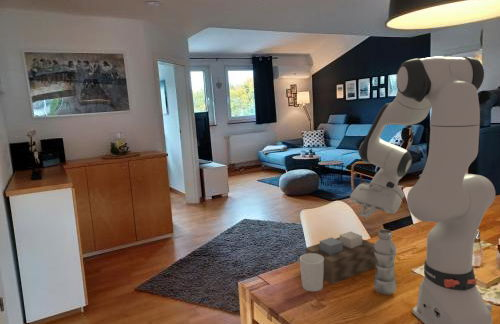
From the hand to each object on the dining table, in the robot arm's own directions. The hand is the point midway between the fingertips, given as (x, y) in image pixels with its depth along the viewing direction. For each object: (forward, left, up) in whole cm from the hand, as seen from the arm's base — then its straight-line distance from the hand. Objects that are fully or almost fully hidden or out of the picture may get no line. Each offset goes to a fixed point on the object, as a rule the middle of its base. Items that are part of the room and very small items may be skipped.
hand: (363, 216), depth 134 cm
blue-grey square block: (-8, +14, -10) cm, 19 cm away
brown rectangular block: (-6, +10, -17) cm, 21 cm away
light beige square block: (-3, +6, -10) cm, 12 cm away
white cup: (-18, +23, -17) cm, 34 cm away
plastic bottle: (-24, +1, -17) cm, 29 cm away
